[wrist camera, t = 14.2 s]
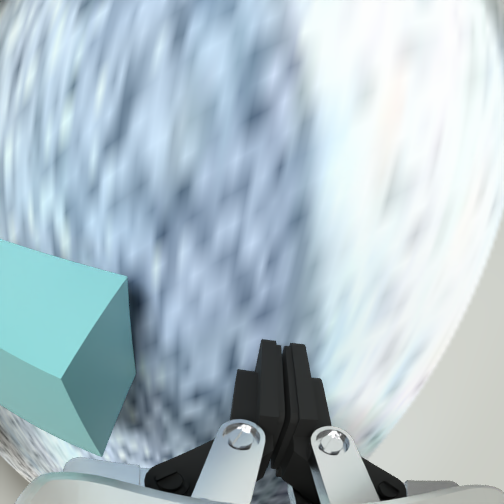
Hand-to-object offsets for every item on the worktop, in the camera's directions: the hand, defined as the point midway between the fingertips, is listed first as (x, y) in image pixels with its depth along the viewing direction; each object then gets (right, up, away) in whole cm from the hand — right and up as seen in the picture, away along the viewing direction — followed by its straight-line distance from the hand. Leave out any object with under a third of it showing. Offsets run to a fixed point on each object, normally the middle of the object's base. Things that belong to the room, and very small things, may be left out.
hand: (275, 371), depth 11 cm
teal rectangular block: (-14, +3, +1) cm, 14 cm away
